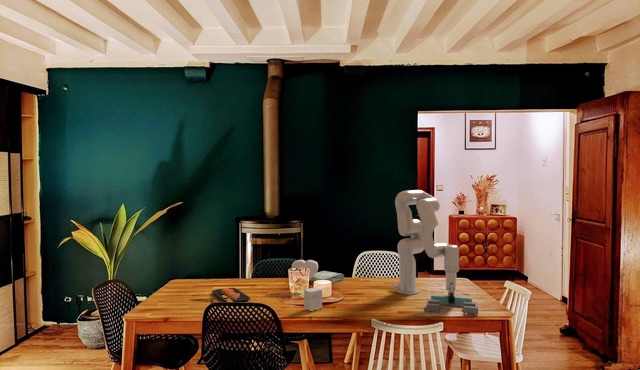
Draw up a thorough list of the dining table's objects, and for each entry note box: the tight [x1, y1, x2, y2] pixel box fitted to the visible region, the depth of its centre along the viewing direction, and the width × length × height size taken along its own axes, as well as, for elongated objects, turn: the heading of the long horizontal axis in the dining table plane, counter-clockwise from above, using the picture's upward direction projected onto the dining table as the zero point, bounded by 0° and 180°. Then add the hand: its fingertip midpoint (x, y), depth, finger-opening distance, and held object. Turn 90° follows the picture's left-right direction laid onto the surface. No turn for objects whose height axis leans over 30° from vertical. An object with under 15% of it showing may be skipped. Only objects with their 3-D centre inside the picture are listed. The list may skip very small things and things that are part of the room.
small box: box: [303, 287, 323, 311], centre depth 237 cm, size 8×6×10 cm
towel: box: [309, 270, 345, 284], centre depth 298 cm, size 18×21×5 cm
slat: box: [430, 294, 473, 307], centre depth 245 cm, size 21×3×4 cm, turn 73°
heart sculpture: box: [291, 259, 319, 279], centre depth 275 cm, size 16×5×18 cm, turn 81°
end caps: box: [425, 299, 479, 315], centre depth 234 cm, size 25×9×4 cm, turn 75°
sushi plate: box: [191, 287, 251, 304], centre depth 258 cm, size 29×30×4 cm
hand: (451, 301), depth 245 cm, fingers open, 6 cm apart
